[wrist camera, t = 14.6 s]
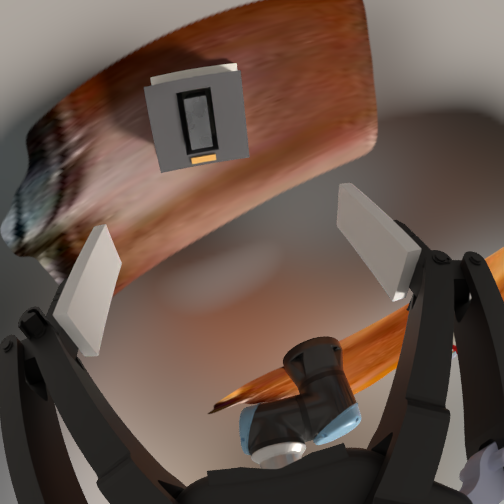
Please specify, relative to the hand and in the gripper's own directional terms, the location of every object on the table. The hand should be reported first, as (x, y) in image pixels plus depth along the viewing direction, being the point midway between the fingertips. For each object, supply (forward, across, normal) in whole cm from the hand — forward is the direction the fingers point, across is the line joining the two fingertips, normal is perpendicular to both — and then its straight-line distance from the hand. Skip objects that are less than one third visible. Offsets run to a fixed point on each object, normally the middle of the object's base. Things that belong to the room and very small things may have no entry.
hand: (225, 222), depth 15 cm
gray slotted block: (+21, +1, -4) cm, 21 cm away
